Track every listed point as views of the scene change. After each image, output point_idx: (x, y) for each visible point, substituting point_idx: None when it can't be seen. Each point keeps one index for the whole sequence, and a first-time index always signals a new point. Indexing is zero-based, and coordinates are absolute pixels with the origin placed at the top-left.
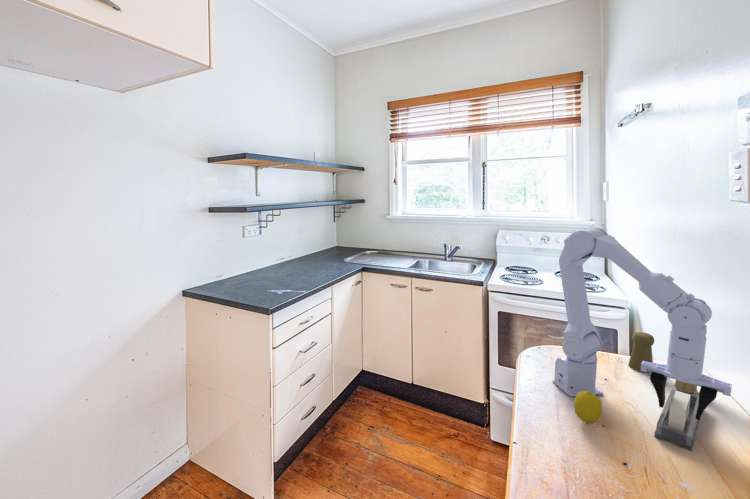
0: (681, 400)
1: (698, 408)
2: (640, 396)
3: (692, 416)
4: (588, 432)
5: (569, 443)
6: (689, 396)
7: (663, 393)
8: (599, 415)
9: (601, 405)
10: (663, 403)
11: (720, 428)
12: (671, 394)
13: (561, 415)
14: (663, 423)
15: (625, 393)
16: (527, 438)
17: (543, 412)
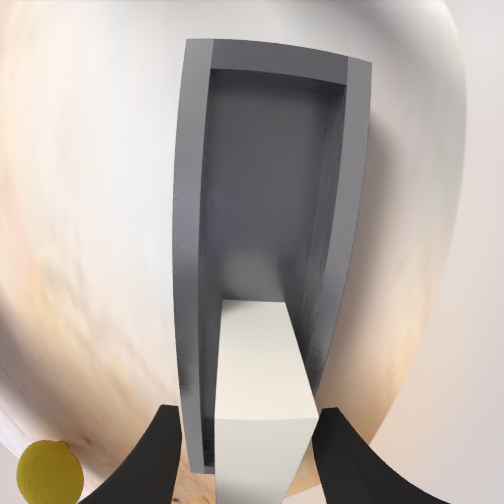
0: (257, 487)
1: (327, 495)
2: (69, 161)
3: (305, 370)
4: (88, 464)
5: (94, 487)
6: (307, 436)
7: (166, 495)
8: (82, 488)
9: (68, 494)
10: (179, 451)
11: (398, 238)
12: (188, 150)
13: (26, 433)
14: (203, 441)
15: (22, 188)
16: None
17: (10, 433)
